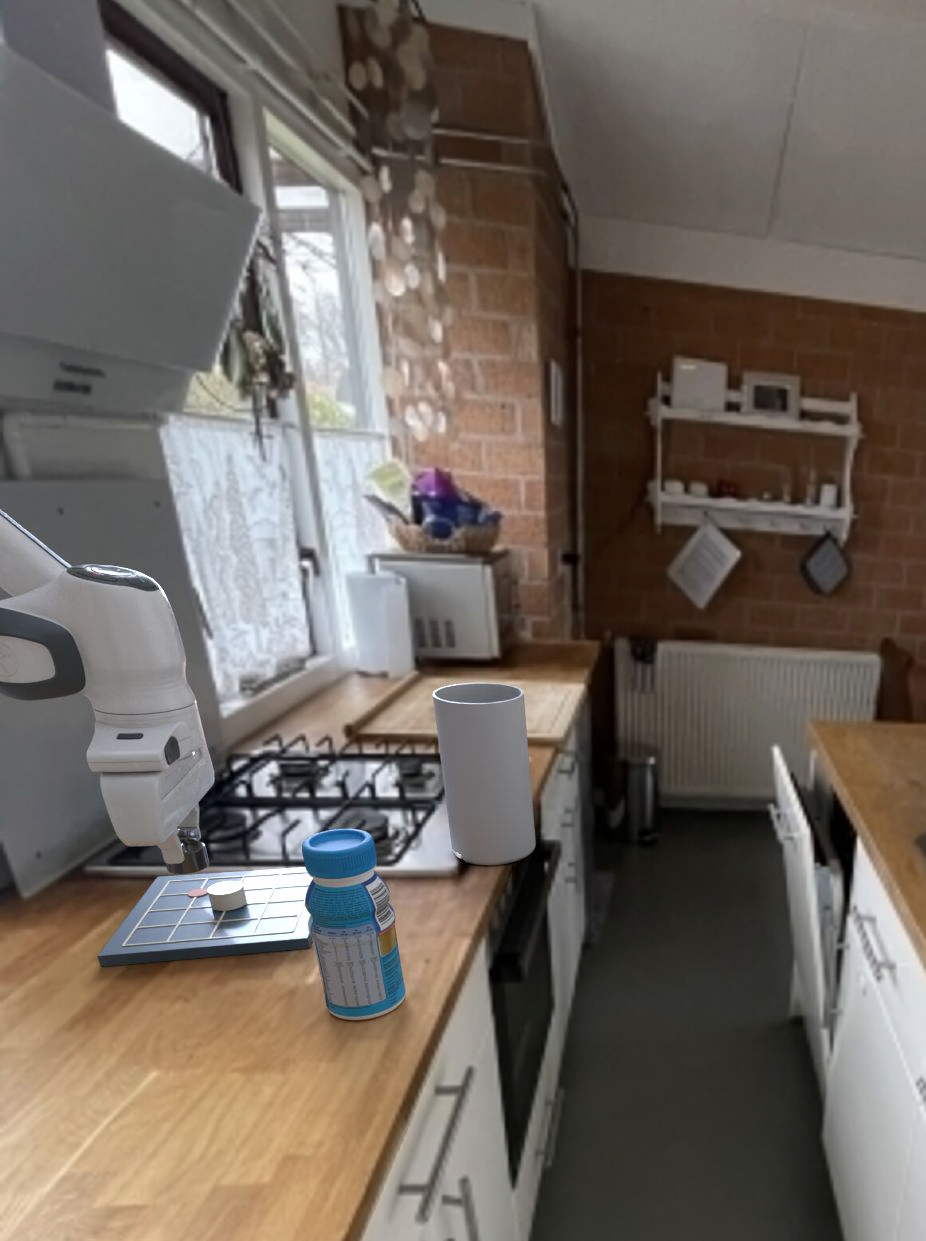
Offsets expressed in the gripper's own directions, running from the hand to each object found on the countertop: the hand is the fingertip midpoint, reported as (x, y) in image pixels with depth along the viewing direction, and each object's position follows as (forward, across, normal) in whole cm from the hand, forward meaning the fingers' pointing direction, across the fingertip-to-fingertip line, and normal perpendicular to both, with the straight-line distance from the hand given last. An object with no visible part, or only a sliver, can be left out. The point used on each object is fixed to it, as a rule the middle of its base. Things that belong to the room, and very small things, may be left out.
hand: (184, 851), depth 98 cm
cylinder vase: (+14, -29, +32) cm, 45 cm away
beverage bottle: (+15, +12, +18) cm, 26 cm away
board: (+15, -13, -1) cm, 19 cm away
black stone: (+2, 0, 0) cm, 2 cm away
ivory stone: (+13, -13, -1) cm, 18 cm away
